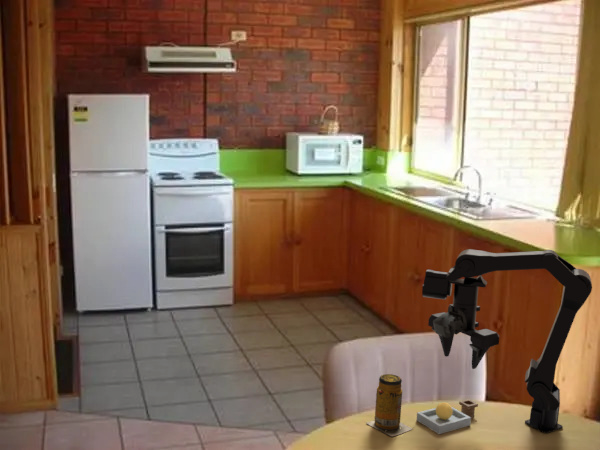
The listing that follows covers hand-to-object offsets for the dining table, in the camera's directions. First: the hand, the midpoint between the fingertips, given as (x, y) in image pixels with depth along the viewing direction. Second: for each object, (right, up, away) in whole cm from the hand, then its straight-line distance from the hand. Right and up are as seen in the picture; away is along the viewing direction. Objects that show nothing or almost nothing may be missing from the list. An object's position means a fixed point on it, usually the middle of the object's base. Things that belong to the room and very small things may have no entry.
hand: (460, 362), depth 184 cm
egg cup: (+2, -13, 0) cm, 13 cm away
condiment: (-18, -14, -8) cm, 24 cm away
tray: (-5, -14, -5) cm, 15 cm away
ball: (-5, -11, -5) cm, 13 cm away
